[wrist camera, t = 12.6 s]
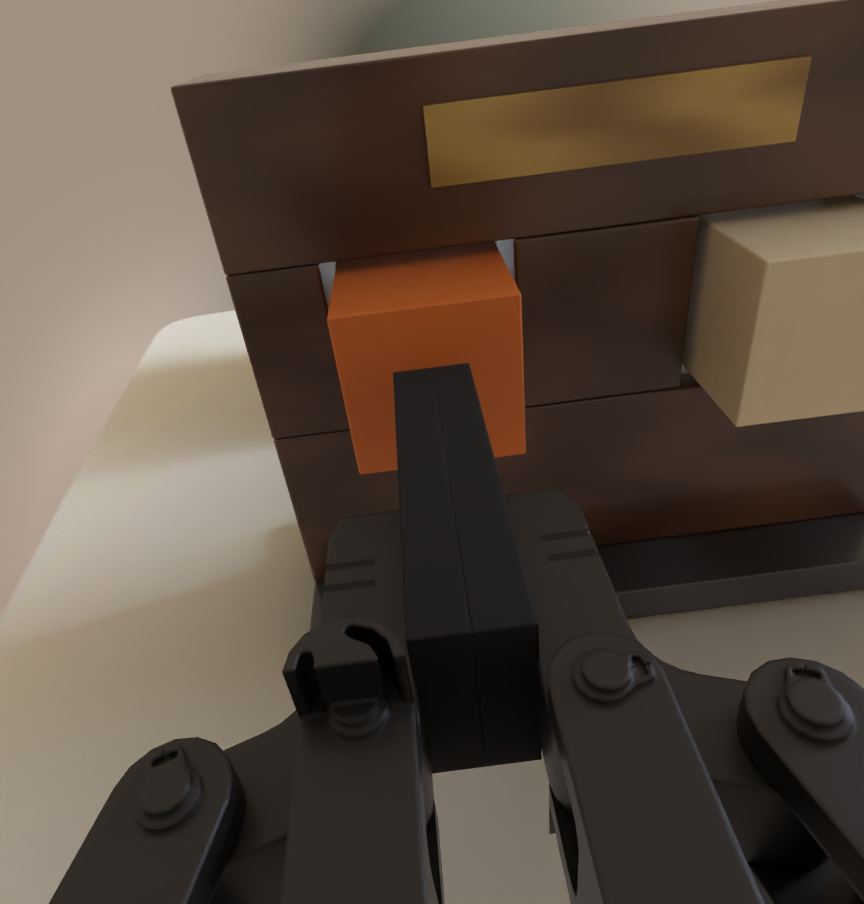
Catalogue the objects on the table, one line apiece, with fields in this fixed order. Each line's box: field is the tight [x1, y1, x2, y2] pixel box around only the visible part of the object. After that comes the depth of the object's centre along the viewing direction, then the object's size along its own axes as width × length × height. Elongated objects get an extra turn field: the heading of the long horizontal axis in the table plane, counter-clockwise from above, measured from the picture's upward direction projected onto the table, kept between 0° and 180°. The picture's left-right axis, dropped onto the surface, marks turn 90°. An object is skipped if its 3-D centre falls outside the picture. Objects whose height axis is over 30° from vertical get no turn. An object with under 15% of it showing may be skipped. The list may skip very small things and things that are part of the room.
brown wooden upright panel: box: [171, 0, 864, 631], centre depth 18 cm, size 18×7×15 cm, turn 94°
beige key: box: [682, 195, 864, 427], centre depth 16 cm, size 4×4×4 cm
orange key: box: [327, 241, 526, 474], centre depth 16 cm, size 4×4×4 cm
